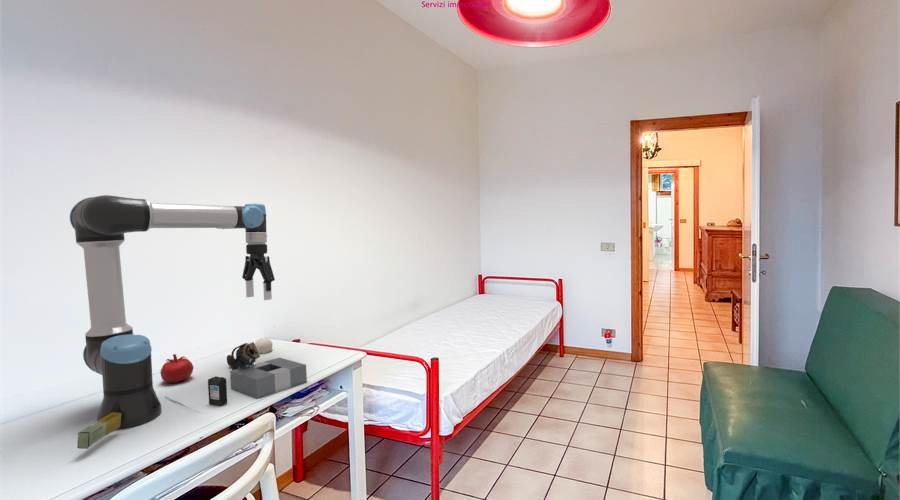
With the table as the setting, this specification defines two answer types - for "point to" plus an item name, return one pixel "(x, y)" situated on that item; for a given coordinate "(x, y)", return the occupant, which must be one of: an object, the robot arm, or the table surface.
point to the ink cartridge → (217, 391)
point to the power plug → (243, 361)
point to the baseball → (263, 345)
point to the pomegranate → (176, 369)
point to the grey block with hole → (268, 377)
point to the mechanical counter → (243, 349)
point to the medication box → (98, 430)
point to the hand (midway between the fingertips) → (258, 298)
